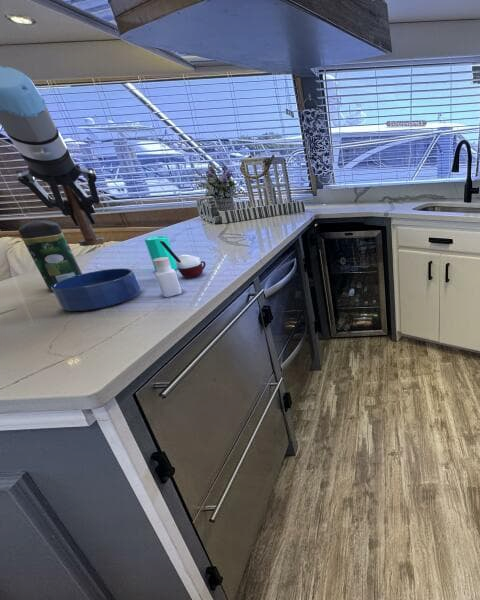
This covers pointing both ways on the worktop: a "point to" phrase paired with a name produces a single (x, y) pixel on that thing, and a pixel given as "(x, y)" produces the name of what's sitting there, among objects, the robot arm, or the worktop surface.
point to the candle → (160, 249)
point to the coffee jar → (49, 251)
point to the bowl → (96, 289)
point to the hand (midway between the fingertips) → (84, 220)
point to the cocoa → (187, 264)
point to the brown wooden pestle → (81, 218)
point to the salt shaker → (166, 277)
